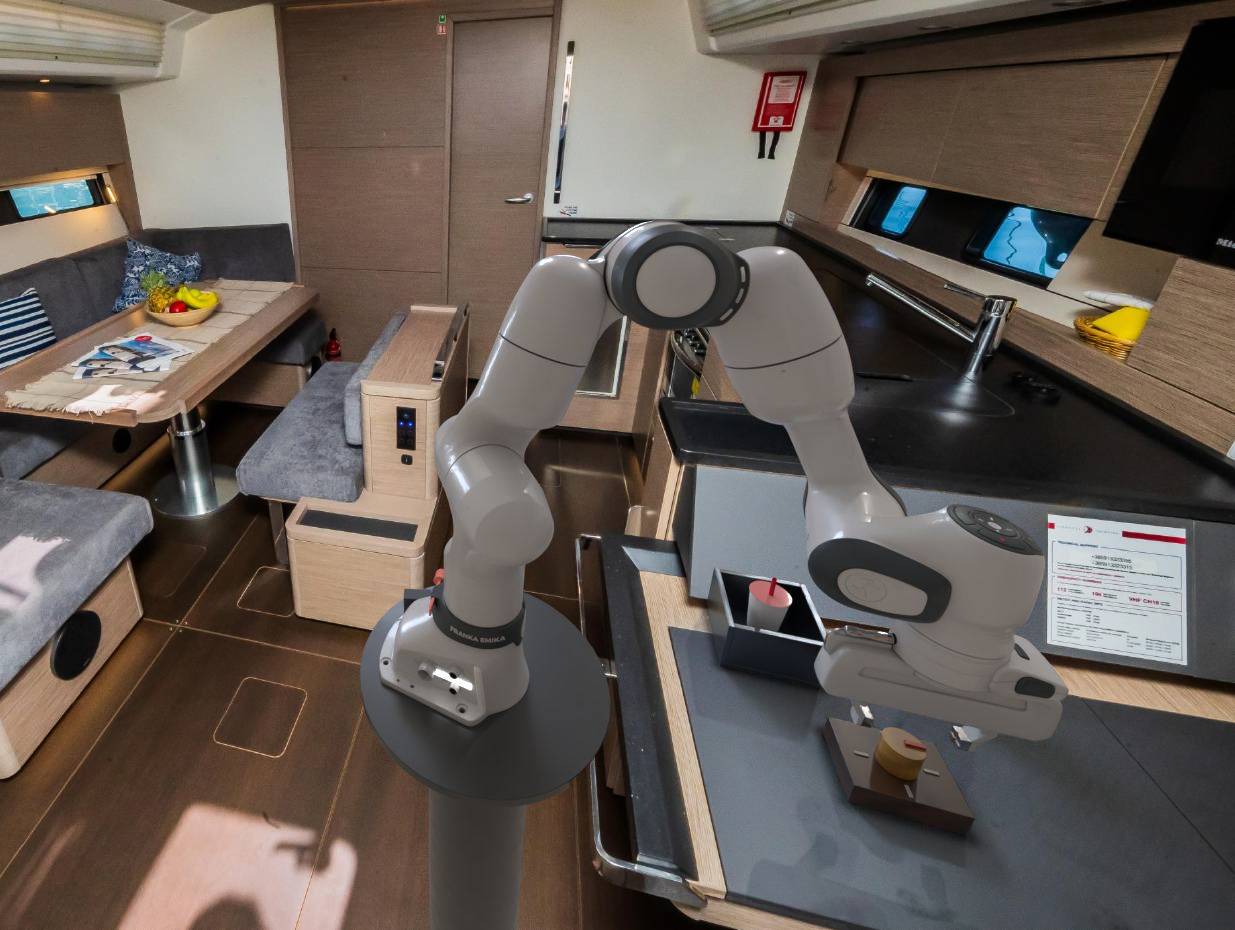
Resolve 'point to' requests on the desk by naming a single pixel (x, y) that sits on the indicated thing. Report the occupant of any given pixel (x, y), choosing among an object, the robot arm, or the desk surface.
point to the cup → (767, 605)
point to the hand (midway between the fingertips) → (908, 733)
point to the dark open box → (763, 649)
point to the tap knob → (900, 753)
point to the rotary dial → (895, 780)
